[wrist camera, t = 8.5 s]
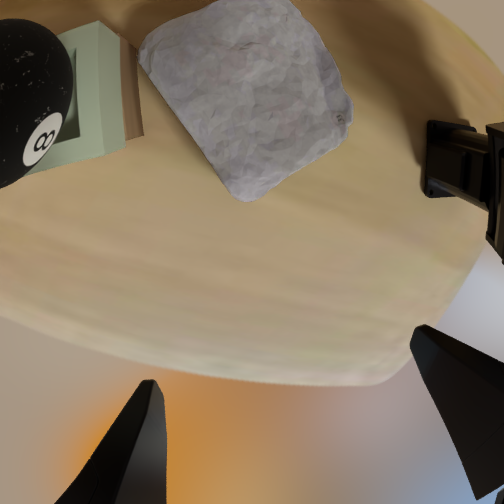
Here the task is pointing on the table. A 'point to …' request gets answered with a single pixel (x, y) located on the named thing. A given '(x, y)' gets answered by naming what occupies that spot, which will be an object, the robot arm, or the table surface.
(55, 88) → the billiard ball
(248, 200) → the stone block
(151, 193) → the table surface
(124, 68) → the tower base
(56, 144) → the tower cap
